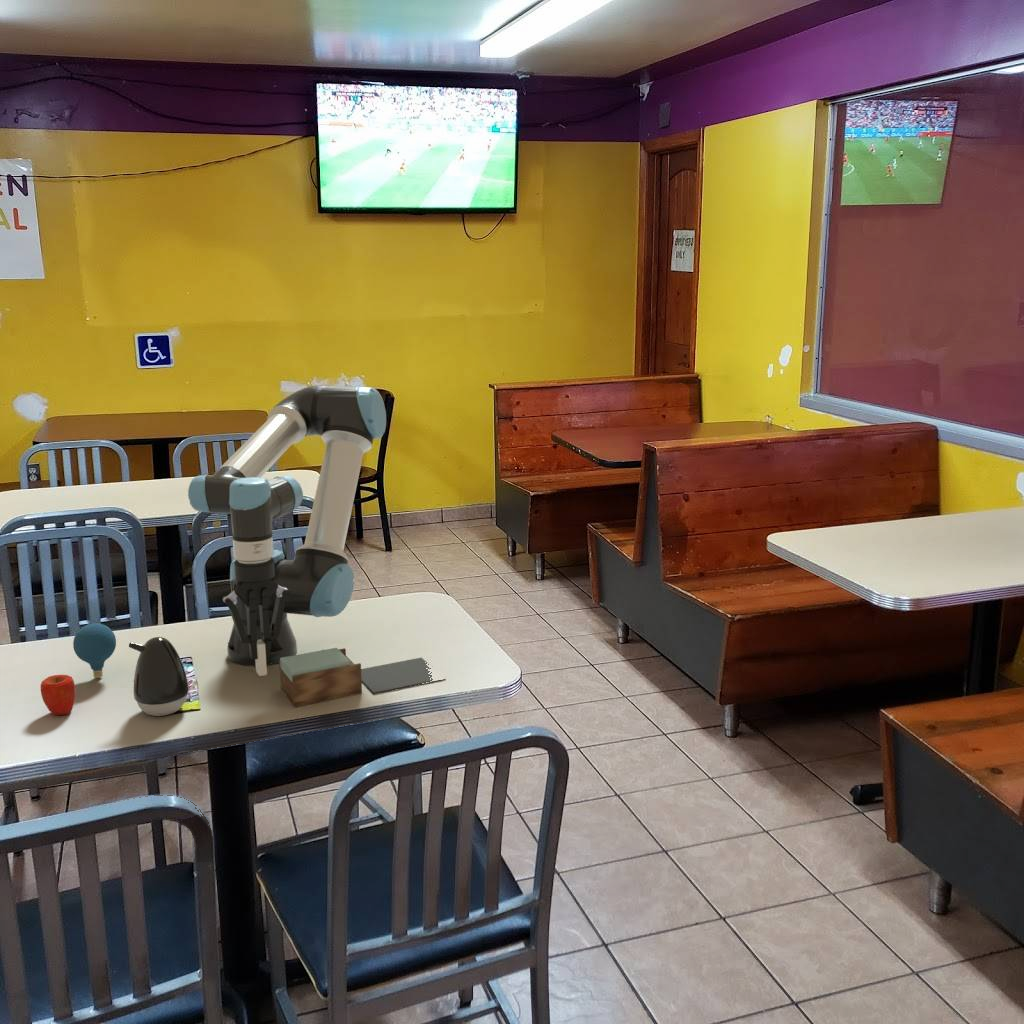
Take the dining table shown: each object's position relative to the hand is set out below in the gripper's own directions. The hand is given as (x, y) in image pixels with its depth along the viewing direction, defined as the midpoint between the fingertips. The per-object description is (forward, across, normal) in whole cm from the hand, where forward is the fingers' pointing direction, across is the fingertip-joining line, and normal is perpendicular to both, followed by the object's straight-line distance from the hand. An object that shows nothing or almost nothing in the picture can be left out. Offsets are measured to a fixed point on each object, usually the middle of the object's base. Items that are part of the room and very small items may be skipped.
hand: (261, 672), depth 203 cm
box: (+6, +12, 0) cm, 14 cm away
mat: (+6, +29, 0) cm, 30 cm away
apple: (+7, -36, +14) cm, 39 cm away
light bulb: (+7, -28, +29) cm, 41 cm away
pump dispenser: (+7, -18, +6) cm, 20 cm away
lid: (+1, +11, 0) cm, 11 cm away
